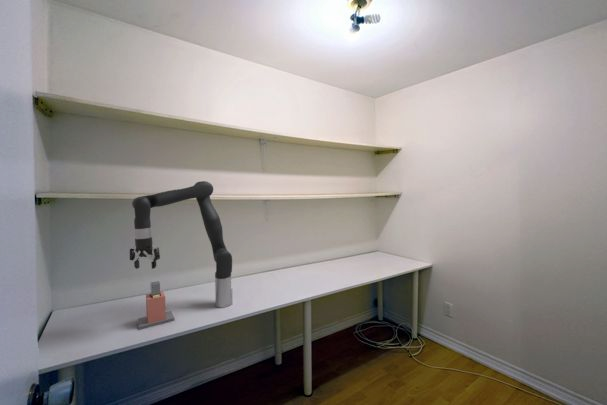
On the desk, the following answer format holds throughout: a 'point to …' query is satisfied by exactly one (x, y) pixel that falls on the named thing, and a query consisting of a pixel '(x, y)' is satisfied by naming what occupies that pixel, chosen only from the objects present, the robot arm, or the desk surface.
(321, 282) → the desk surface
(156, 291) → the steel column
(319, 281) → the desk surface
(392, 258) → the desk surface
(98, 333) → the desk surface
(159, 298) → the stand sleeve
